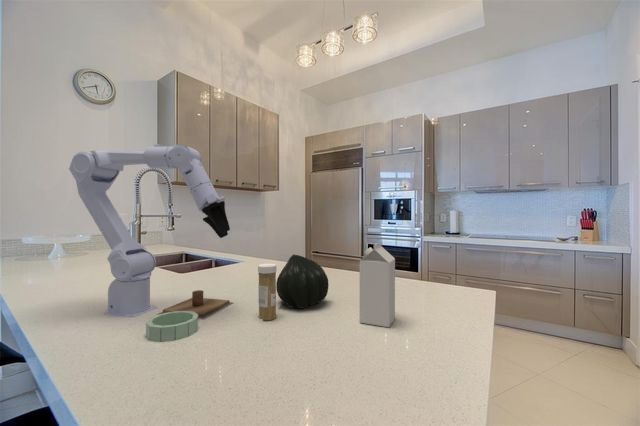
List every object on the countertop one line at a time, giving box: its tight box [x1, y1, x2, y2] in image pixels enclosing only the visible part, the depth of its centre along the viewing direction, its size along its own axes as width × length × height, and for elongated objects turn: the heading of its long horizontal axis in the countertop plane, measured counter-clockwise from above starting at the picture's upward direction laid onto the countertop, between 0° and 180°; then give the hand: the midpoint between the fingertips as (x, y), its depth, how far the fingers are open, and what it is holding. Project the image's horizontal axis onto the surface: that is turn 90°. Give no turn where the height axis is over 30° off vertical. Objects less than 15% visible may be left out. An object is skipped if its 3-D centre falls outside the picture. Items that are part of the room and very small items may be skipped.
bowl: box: [145, 311, 199, 342], centre depth 65 cm, size 10×10×3 cm
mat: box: [155, 301, 234, 321], centre depth 81 cm, size 14×14×1 cm
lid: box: [162, 289, 230, 318], centre depth 81 cm, size 12×12×4 cm
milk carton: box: [359, 241, 396, 328], centre depth 73 cm, size 7×7×19 cm
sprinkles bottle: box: [257, 262, 277, 321], centre depth 75 cm, size 5×5×14 cm
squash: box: [276, 254, 329, 309], centre depth 87 cm, size 14×15×15 cm
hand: (225, 234), depth 77 cm, fingers open, 7 cm apart
